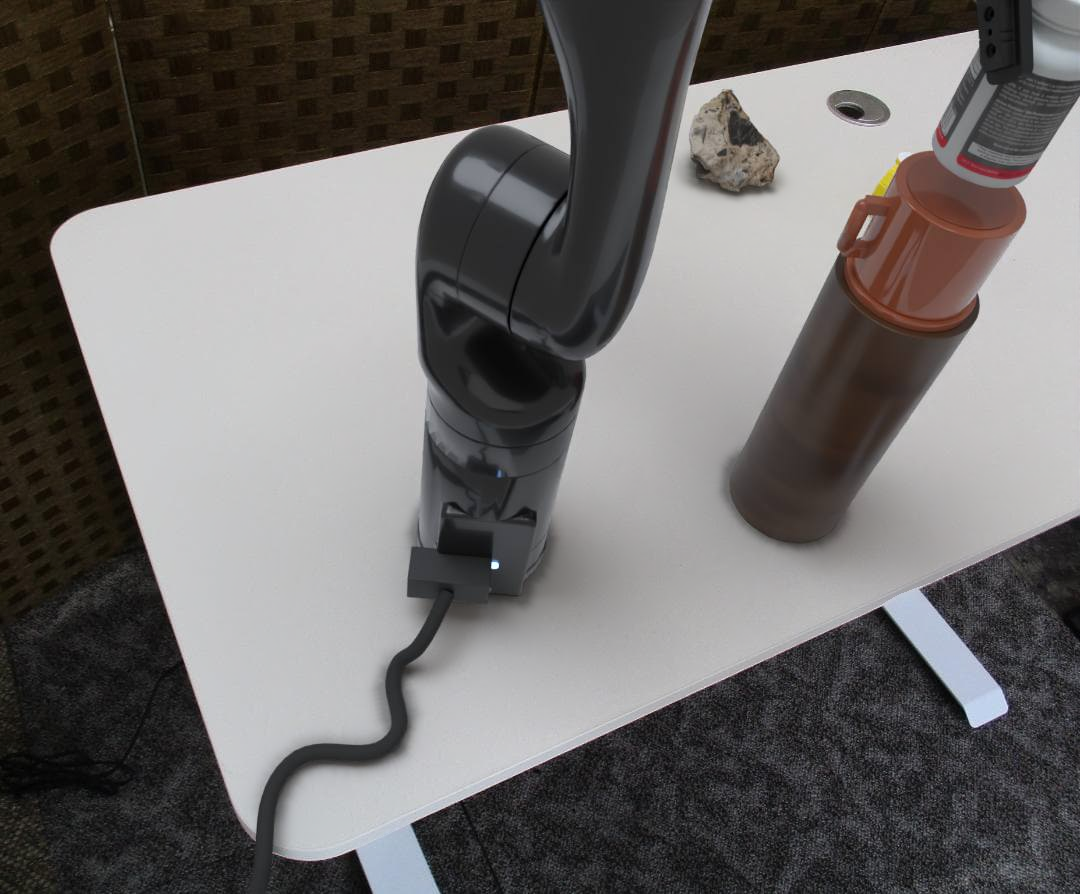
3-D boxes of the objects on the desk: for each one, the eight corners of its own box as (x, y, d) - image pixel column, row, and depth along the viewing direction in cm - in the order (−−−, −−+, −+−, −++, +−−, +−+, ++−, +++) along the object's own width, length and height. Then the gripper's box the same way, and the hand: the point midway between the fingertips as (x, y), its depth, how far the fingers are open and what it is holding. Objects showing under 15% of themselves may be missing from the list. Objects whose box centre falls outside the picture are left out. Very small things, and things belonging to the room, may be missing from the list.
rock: (752, 122, 106) (698, 74, 99) (804, 134, 101) (751, 83, 94) (713, 198, 107) (657, 155, 100) (762, 213, 102) (707, 169, 95)
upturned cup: (986, 339, 58) (1051, 248, 53) (832, 321, 57) (881, 227, 52) (956, 247, 63) (1012, 154, 57) (813, 229, 62) (856, 134, 57)
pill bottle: (1047, 175, 53) (1162, 2, 45) (982, 203, 51) (1092, 26, 43) (972, 118, 55) (1070, -57, 48) (907, 142, 53) (998, -37, 45)
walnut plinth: (848, 548, 76) (996, 346, 58) (734, 537, 76) (847, 329, 57) (831, 454, 82) (961, 242, 63) (725, 443, 81) (825, 225, 63)
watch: (877, 225, 100) (901, 177, 96) (857, 209, 102) (880, 161, 97) (914, 207, 103) (940, 160, 98) (895, 191, 104) (919, 144, 100)
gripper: (979, -386, 38) (997, 71, 42) (1252, -365, 43) (1250, 49, 46) (860, -280, 46) (883, 104, 49) (1104, -271, 50) (1111, 82, 53)
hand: (1061, 75), depth 47 cm, fingers closed on pill bottle, 5 cm apart
